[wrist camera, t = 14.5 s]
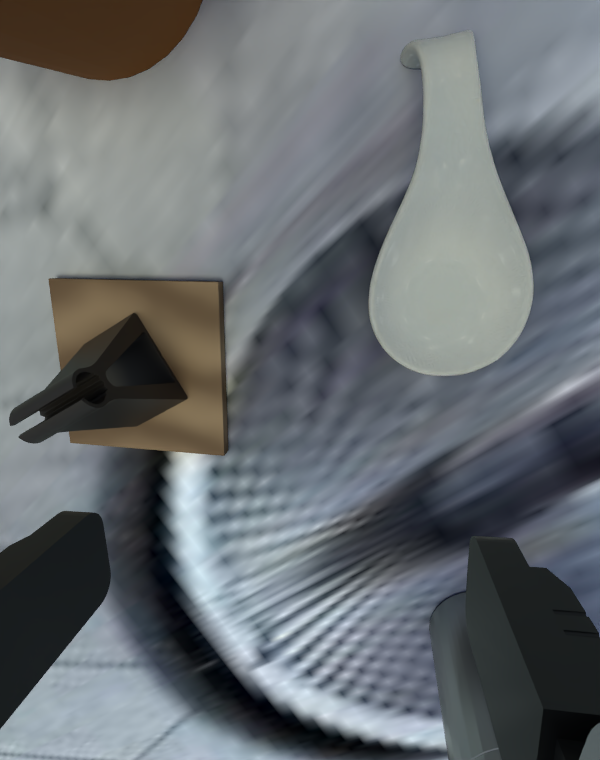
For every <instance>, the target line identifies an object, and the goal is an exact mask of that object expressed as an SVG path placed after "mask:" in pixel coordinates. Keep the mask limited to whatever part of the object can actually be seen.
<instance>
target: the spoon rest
mask: <svg viewBox="0 0 600 760" xmlns="http://www.w3.org/2000/svg"><path fill="white" fill-rule="evenodd" d="M401 62H402V64H403V65H404V66H406V67H408V68H412V69H421V73H422V83H423V124H422V136H421V143H420V149H419V154H418V159H417V163H416V167H415V170H414V173H413V176H412V179H411V182H410V184H409V187H408V189H407V192H406V194H405V196H404V199H403V201H402V203H401V205H400V207H399V209H398V212H397V214H396V216H395V218H394V220H393V222H392V224H391V226H390V228H389V231H388V233H387V235H386V238H385V240H384V242H383V245H382V247H381V250H380V252H379V255H378V258H377V261H376V264H375V267H374V271H373V274H372V279H371V283H370V290H369V317H370V321H371V325H372V328H373V331H374V334H375V336H376V338H377V339H378V341H379V343H380V344H381V346H382V347H383V349H384V350H385V351H386V352H387V353H388V354H389V355H390V356H391V357H392V358H393V359H394V360H395V361H397V362H398V363H400V364H401V365H403V366H404V367H406V368H408V369H410V370H413V371H415V372H418V373H422V374H426V375H434V376H453V375H461V374H466V373H470V372H473V371H476V370H479V369H481V368H483V367H485V366H488V365H489V364H491V363H493V362H494V361H496V360H498V359H499V358H500V357H501V356H502V355H504V354H505V353H506V352H507V351H508V350H509V349H510V348H511V347H512V345H513V344H514V343H515V342H516V340H517V339H518V337H519V336H520V334H521V332H522V331H523V328H524V326H525V324H526V322H527V319H528V317H529V314H530V310H531V306H532V300H533V291H534V283H533V273H532V266H531V262H530V257H529V253H528V250H527V247H526V244H525V242H524V239H523V236H522V234H521V231H520V229H519V226H518V224H517V221H516V219H515V217H514V214H513V212H512V209H511V207H510V205H509V202H508V199H507V197H506V195H505V192H504V189H503V187H502V184H501V182H500V179H499V176H498V174H497V171H496V167H495V164H494V161H493V157H492V153H491V150H490V146H489V142H488V137H487V132H486V127H485V119H484V111H483V101H482V92H481V84H480V77H479V70H478V62H477V55H476V46H475V39H474V34H473V32H472V31H470V30H467V31H462V32H458V33H454V34H450V35H446V36H442V37H436V38H430V39H421V40H415V41H412V42H410V43H409V44H407V45H406V46H405V48H404V49H403V51H402V53H401Z"/></svg>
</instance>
